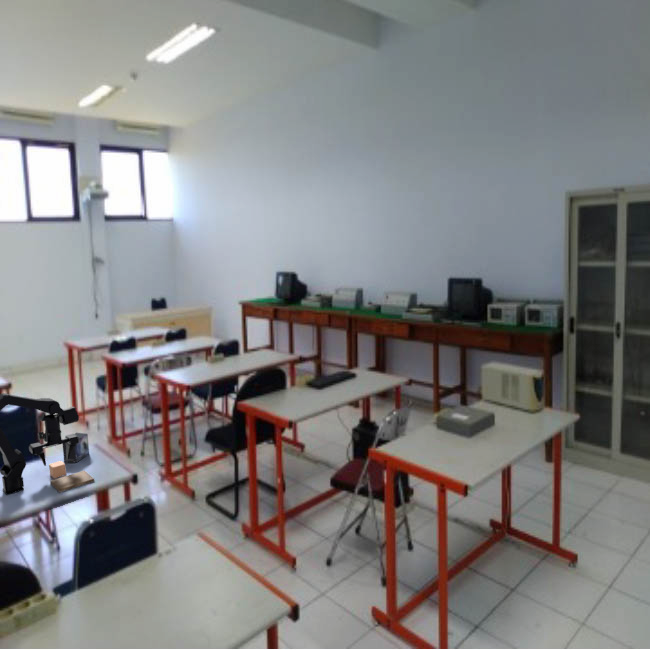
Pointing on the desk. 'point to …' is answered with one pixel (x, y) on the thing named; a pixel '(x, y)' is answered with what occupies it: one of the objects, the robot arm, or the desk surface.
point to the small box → (78, 449)
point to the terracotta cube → (57, 469)
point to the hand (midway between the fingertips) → (56, 462)
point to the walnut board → (72, 481)
